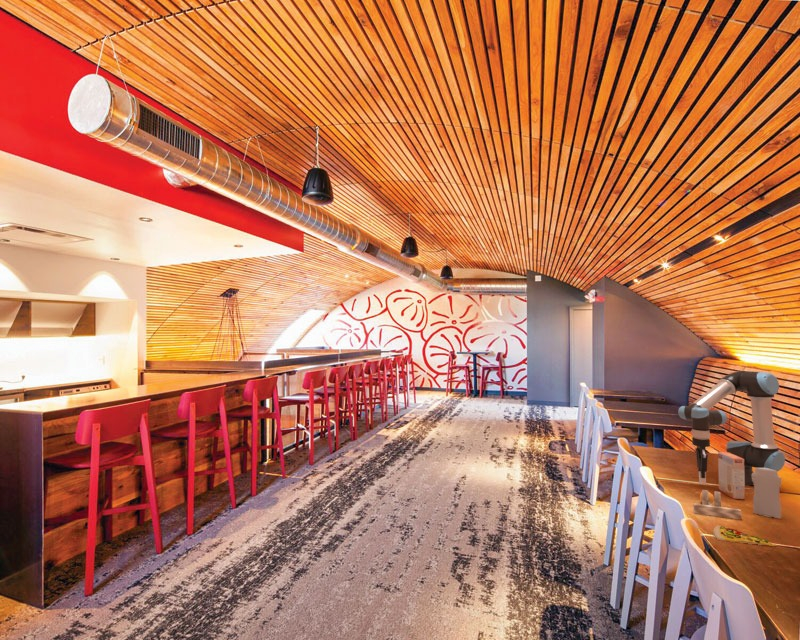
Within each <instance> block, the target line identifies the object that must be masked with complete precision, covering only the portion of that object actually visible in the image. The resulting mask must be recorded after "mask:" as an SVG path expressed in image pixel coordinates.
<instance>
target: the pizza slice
mask: <svg viewBox="0 0 800 640" xmlns="http://www.w3.org/2000/svg"><path fill="white" fill-rule="evenodd" d="M712 534H714V535H713V537H714V536H715V537H716V538H717V539H719V540H729V541H734V542H733V543H735V542H740V543H739V544H743V543H748V544H747V545H752V544H758V545H757V546H761V545H769V546H768V547H770V546H778V545H776V544H775V543H772V542H771V541H768V540H767V539H763V538H760V537H759V536H755V535H749V534H748V533H745V532H744V533H743V532H742V531H739V530H738V529H734V528H730V527H728V526H722V525H718V524H717V525H715V527H714V528H713V530H712ZM715 537H714V538H715ZM716 538H715V539H716Z"/></svg>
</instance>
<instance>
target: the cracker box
mask: <svg viewBox="0 0 800 640" xmlns="http://www.w3.org/2000/svg"><path fill="white" fill-rule="evenodd" d="M717 456H718V459H717V460H718V463H717V464H718V465H717V467H718V491H719V492H721V493H722V494H723V493H724V494H725V495H726V496H728V497H730V498H731V499H734V500H743V499H744V501H745V500H746V493H745V492H746V487H745V486H746V485H745V475H744V459H743V458H740V457H738V456H736V455H734V454H731V453H728V452H727V451H726V452H725V451H718V453H717Z"/></svg>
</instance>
